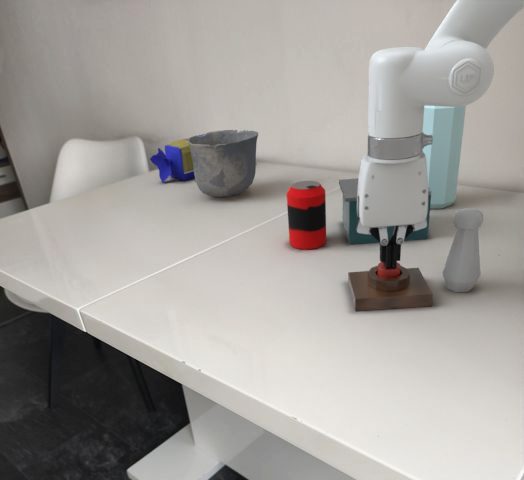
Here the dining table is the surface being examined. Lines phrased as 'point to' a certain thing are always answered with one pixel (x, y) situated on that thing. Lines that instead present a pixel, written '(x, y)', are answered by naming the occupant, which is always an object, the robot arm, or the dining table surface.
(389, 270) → the button
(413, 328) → the dining table surface
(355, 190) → the lid
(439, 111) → the water bottle
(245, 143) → the cup
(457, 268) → the salt shaker
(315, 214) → the soda can
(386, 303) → the button block
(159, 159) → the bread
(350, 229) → the tin
